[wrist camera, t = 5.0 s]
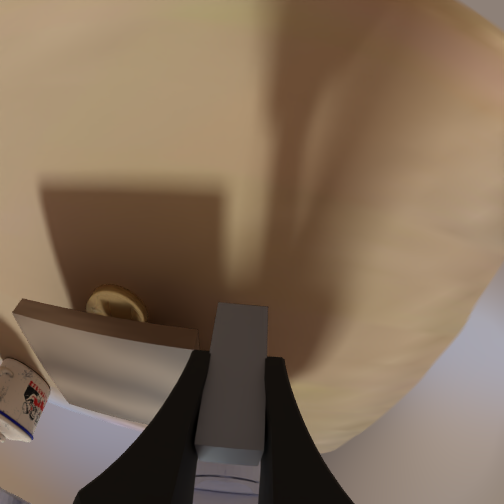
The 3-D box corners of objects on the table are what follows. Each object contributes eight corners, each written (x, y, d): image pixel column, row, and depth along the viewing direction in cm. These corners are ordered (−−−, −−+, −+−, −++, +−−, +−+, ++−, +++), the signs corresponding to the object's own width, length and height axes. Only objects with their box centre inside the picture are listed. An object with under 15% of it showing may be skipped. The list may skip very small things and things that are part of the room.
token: (153, 331, 25) (148, 344, 23) (101, 322, 25) (95, 335, 23) (144, 285, 22) (137, 299, 21) (87, 278, 22) (79, 290, 21)
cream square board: (212, 378, 27) (204, 434, 22) (83, 354, 27) (62, 401, 22) (209, 279, 21) (193, 349, 16) (44, 260, 21) (5, 310, 16)
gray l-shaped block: (248, 422, 19) (243, 500, 15) (220, 420, 19) (211, 497, 15) (267, 306, 12) (263, 450, 8) (218, 302, 12) (194, 444, 8)
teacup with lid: (59, 401, 36) (35, 463, 26) (15, 380, 35) (-11, 436, 26) (36, 357, 30) (-1, 433, 20) (-12, 334, 29) (-50, 398, 19)
